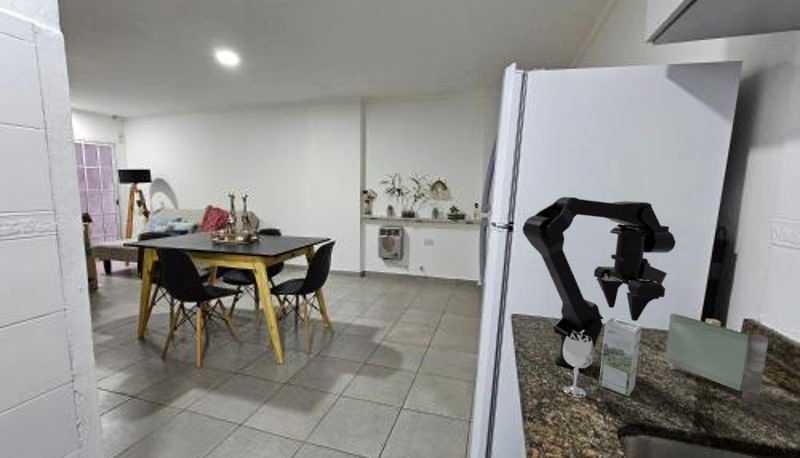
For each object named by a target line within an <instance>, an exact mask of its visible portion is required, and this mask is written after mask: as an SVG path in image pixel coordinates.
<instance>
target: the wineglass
mask: <svg viewBox="0 0 800 458" xmlns="http://www.w3.org/2000/svg"><path fill="white" fill-rule="evenodd" d="M594 354H595V352H594V346H593V343H592V339H591V338H590V337H588V336H586V335H583V334H579V333H577V332H575V333H569V334H567V336H566V339H565V342H564V345H563V357H564V359H565V361H566V362H567V363H568V364H570V365H571V366H573V367H575V368H574V369H572V371H573V375H574V379H573V385H570V384H567V385H564V386H563V387H562V390H563V392H564V393H565V394H567V395H569V396H570V397H574V398H580V399H581V398H585V397H586V396H587V393H586V391H585V390H584V389H583V388H581V387H579V386H577V381H578V380H577V379H578V376H579V373H580V371H579V369H578V368H587V367H589V366H591V364H592V363H593V362H594V361H593V360H594Z"/></svg>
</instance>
